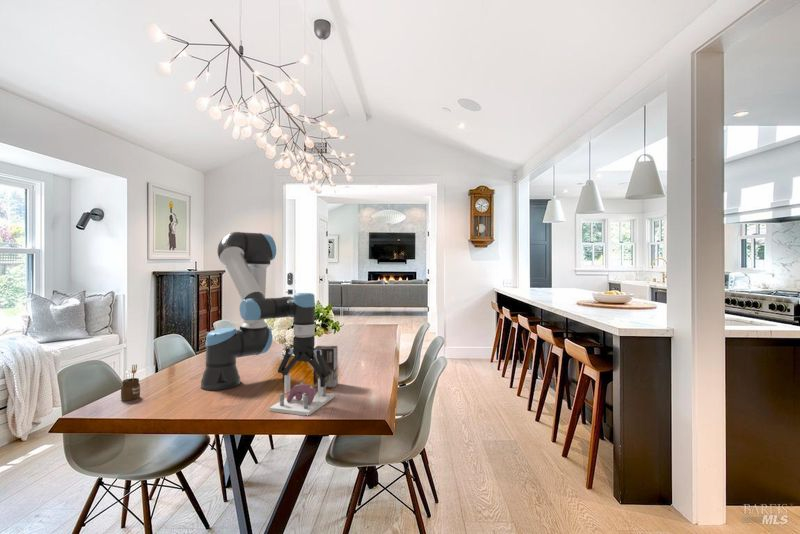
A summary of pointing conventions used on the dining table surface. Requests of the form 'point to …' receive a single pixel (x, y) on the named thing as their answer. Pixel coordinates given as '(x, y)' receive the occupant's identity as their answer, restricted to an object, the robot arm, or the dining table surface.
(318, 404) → the pin tray
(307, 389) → the video game controller
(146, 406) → the dining table surface
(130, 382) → the utensil holder
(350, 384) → the dining table surface
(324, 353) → the coffee box
